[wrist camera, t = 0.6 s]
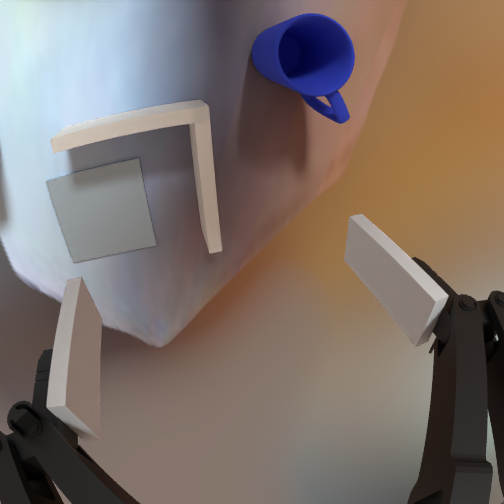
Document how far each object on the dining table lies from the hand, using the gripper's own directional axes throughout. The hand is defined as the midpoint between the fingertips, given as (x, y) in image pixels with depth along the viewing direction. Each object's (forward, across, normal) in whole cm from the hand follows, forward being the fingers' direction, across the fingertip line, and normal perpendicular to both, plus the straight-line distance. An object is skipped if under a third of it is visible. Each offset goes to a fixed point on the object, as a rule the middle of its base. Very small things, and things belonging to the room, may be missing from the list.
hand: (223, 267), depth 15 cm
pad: (+25, -11, -7) cm, 28 cm away
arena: (+25, -5, -4) cm, 26 cm away
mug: (+25, +14, +7) cm, 30 cm away
